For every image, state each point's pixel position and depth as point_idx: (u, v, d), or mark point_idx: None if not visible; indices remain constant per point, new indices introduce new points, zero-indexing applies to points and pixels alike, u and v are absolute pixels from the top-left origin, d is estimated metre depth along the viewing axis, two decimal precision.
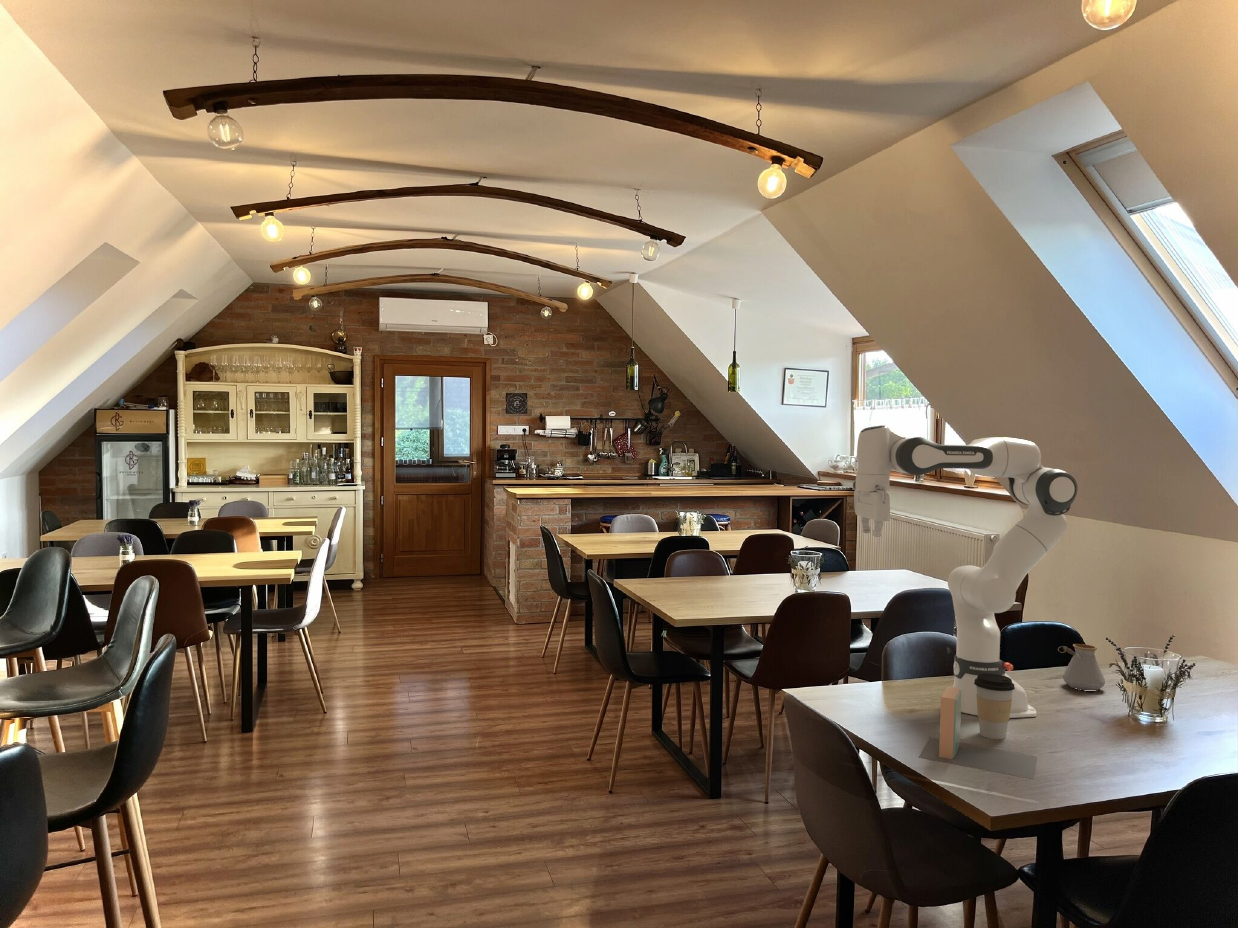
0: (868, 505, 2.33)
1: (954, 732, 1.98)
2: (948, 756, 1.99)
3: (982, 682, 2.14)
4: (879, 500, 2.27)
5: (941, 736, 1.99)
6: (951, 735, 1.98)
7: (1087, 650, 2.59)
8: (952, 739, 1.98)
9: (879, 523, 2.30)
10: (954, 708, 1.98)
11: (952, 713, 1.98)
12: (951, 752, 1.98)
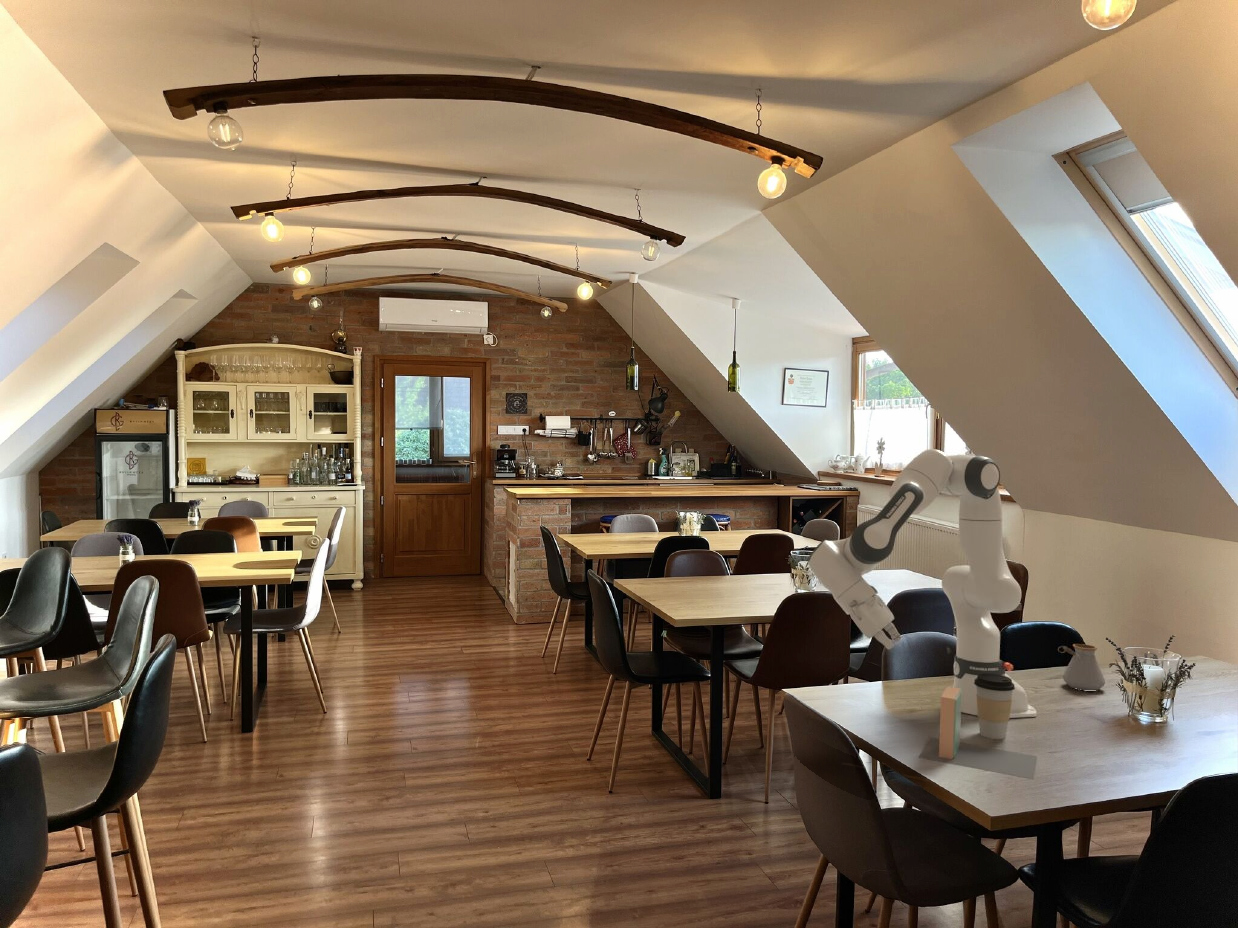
0: None
1: (954, 732, 1.98)
2: (948, 756, 1.99)
3: (982, 682, 2.14)
4: (854, 619, 2.04)
5: (941, 736, 1.99)
6: (951, 735, 1.98)
7: (1087, 650, 2.59)
8: (952, 739, 1.98)
9: (879, 636, 2.05)
10: (954, 708, 1.98)
11: (952, 713, 1.98)
12: (951, 752, 1.98)
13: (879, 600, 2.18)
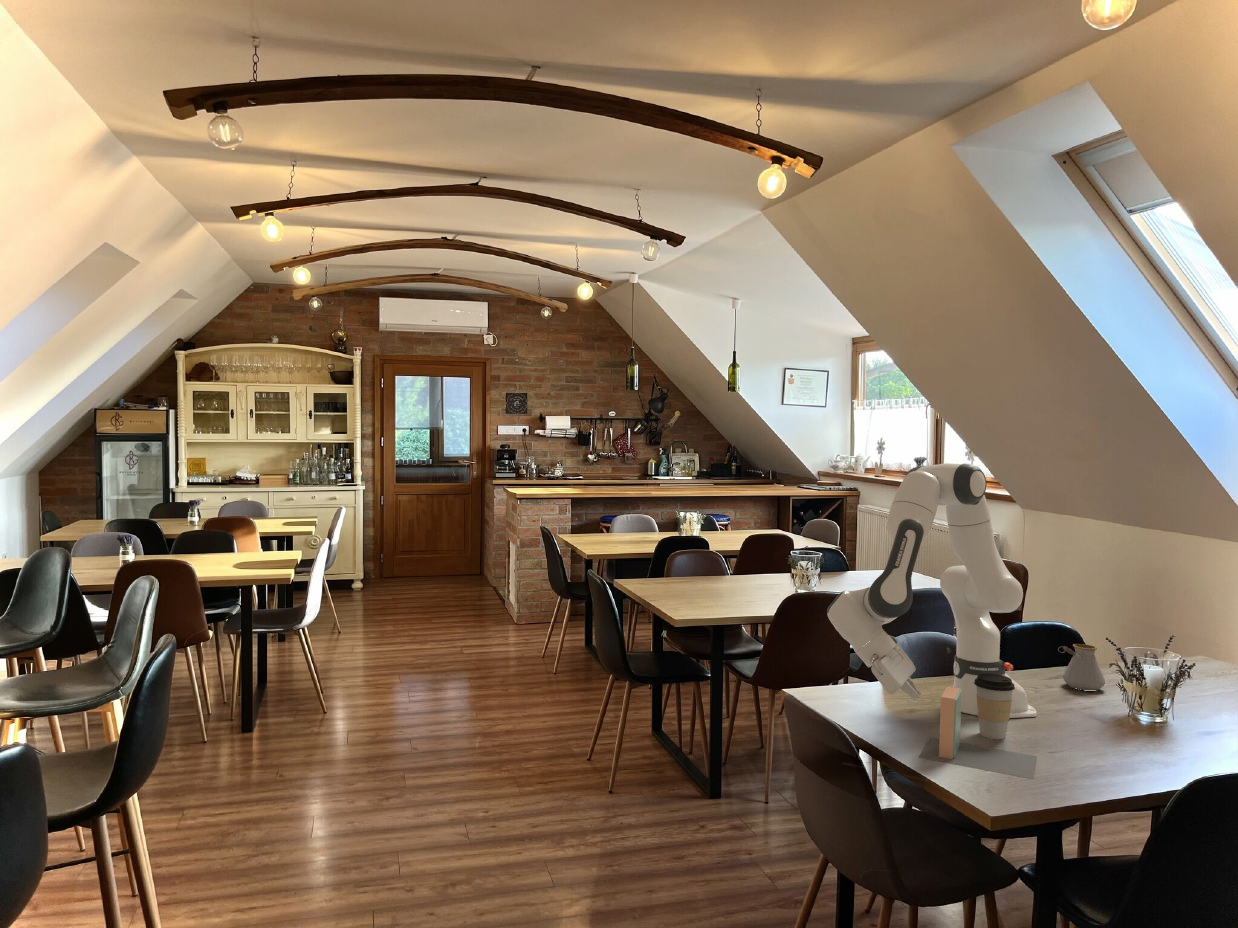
0: None
1: (954, 732, 1.98)
2: (948, 756, 1.99)
3: (982, 682, 2.14)
4: (876, 674, 2.02)
5: (941, 736, 1.99)
6: (951, 735, 1.98)
7: (1087, 650, 2.59)
8: (952, 739, 1.98)
9: (905, 686, 2.05)
10: (954, 708, 1.98)
11: (952, 713, 1.98)
12: (951, 752, 1.98)
13: (900, 651, 2.16)
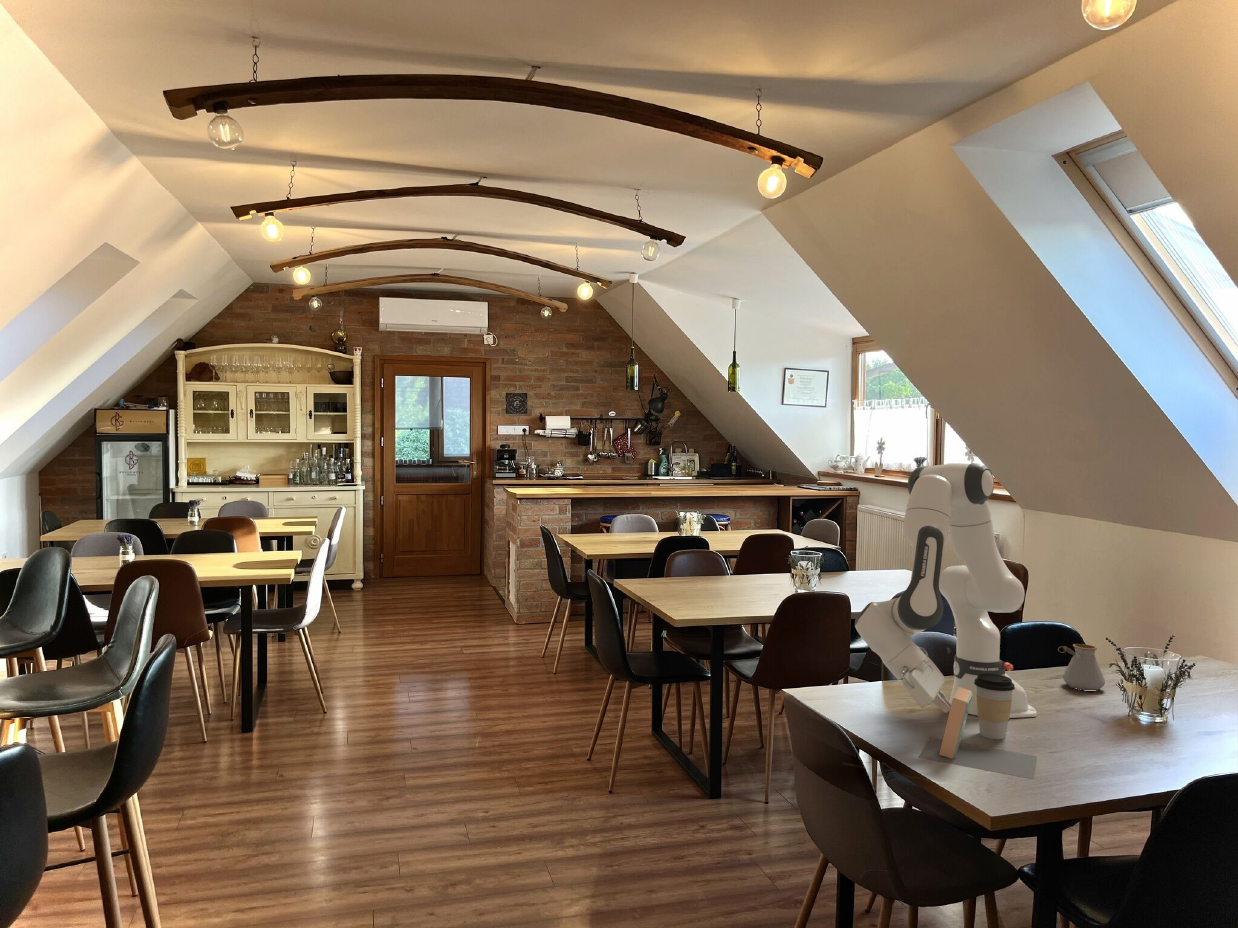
0: None
1: (960, 733, 1.98)
2: (948, 755, 1.99)
3: (982, 682, 2.14)
4: (907, 687, 1.99)
5: (945, 735, 1.99)
6: (956, 736, 1.98)
7: (1087, 650, 2.59)
8: (956, 740, 1.98)
9: (936, 699, 2.02)
10: (964, 710, 1.97)
11: (961, 715, 1.97)
12: (952, 752, 1.98)
13: (929, 662, 2.12)
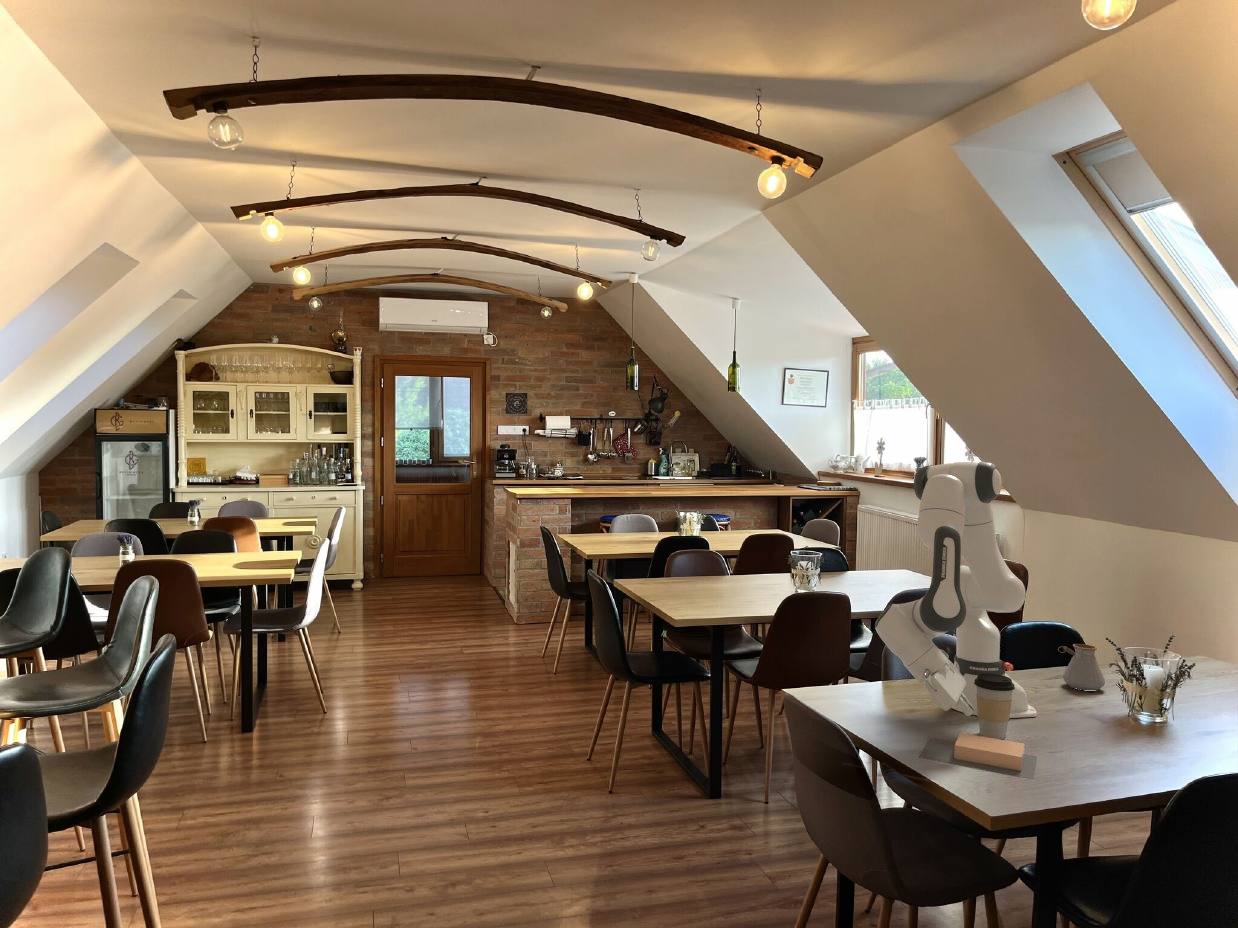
0: None
1: (983, 763, 1.95)
2: (956, 754, 1.98)
3: (982, 682, 2.14)
4: (930, 691, 1.96)
5: (976, 750, 1.96)
6: (979, 760, 1.95)
7: (1087, 650, 2.59)
8: (975, 760, 1.96)
9: (958, 702, 2.00)
10: (1010, 768, 1.93)
11: (1004, 765, 1.93)
12: (961, 757, 1.97)
13: (950, 665, 2.10)
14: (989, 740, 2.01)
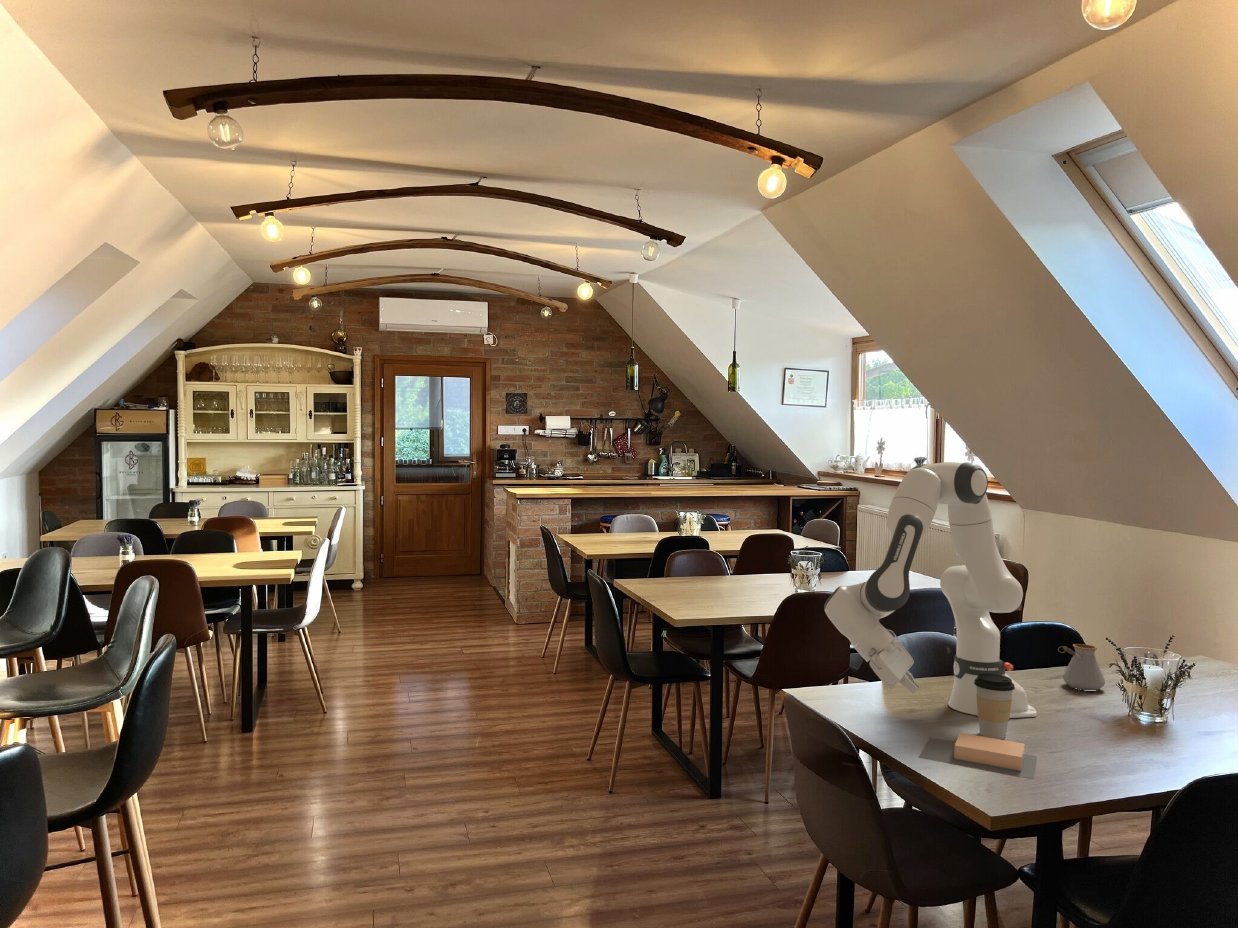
0: None
1: (983, 763, 1.95)
2: (956, 754, 1.98)
3: (982, 682, 2.14)
4: (874, 669, 2.02)
5: (976, 750, 1.96)
6: (979, 760, 1.95)
7: (1087, 650, 2.59)
8: (975, 760, 1.96)
9: (903, 680, 2.06)
10: (1010, 768, 1.93)
11: (1004, 765, 1.93)
12: (961, 757, 1.97)
13: (898, 644, 2.16)
14: (989, 740, 2.01)
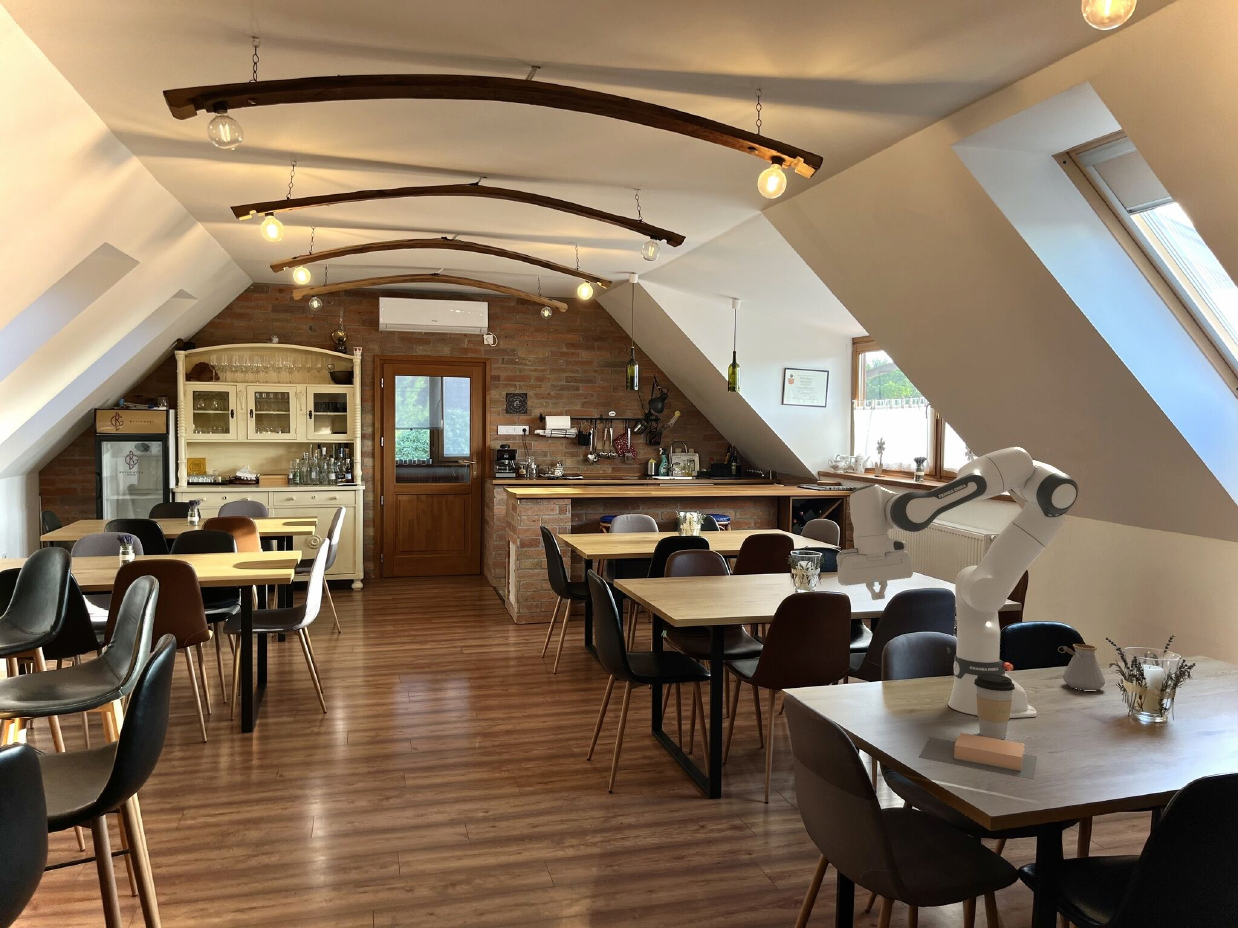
0: None
1: (983, 763, 1.95)
2: (956, 754, 1.98)
3: (982, 682, 2.14)
4: (838, 564, 2.25)
5: (976, 750, 1.96)
6: (979, 760, 1.95)
7: (1087, 650, 2.59)
8: (975, 760, 1.96)
9: (868, 586, 2.25)
10: (1010, 768, 1.93)
11: (1004, 765, 1.93)
12: (961, 757, 1.97)
13: (903, 556, 2.25)
14: (989, 740, 2.01)
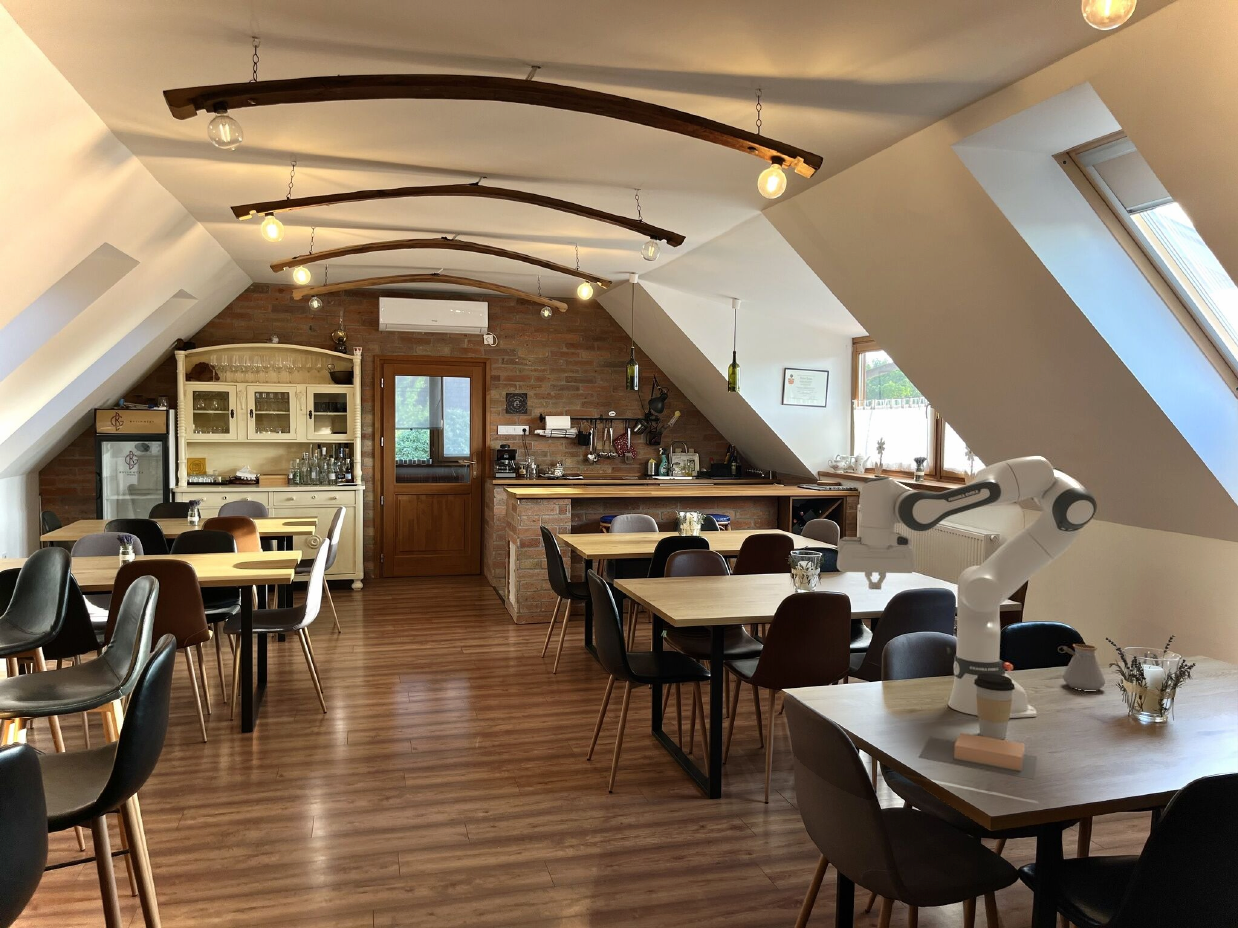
0: None
1: (983, 763, 1.95)
2: (956, 754, 1.98)
3: (982, 682, 2.14)
4: None
5: (976, 750, 1.96)
6: (979, 760, 1.95)
7: (1087, 650, 2.59)
8: (975, 760, 1.96)
9: (866, 575, 2.29)
10: (1010, 768, 1.93)
11: (1004, 765, 1.93)
12: (961, 757, 1.97)
13: (906, 552, 2.27)
14: (989, 740, 2.01)
